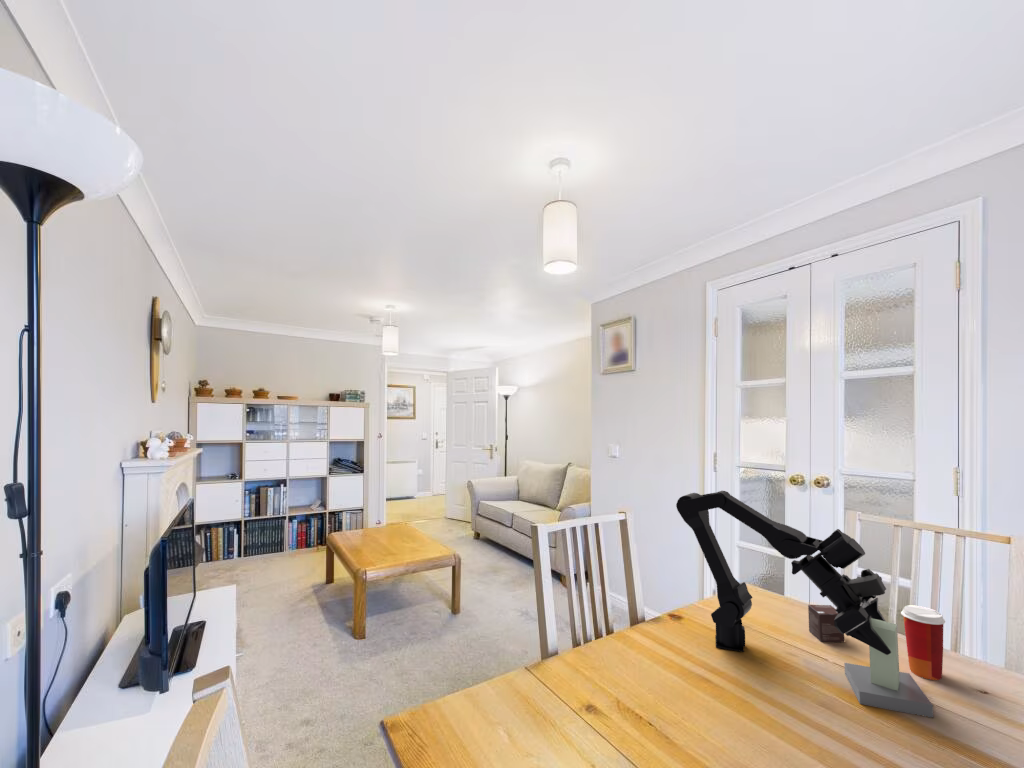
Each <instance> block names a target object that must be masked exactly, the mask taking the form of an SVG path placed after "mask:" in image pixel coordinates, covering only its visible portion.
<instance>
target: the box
mask: <svg viewBox="0 0 1024 768" xmlns="http://www.w3.org/2000/svg"><path fill="white" fill-rule="evenodd" d="M807 607H808V608H807V609H808V611H807V612H808V631H809V633H810V634H811V635H813V636H814V637H815V638H816V639H817V640H818V641H819V642H821V643H827V642H828V643H833V642H834V643H845V634H841V633H840V632H839V631H838V630H837V628H836V627H835V626H834V619H835V618H836V616H837V615H838V613H837V612H836V611H835V610H836V608H835V607H834V606H832V605H831V604H830V605H829V604H808V605H807Z"/></svg>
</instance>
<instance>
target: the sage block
mask: <svg viewBox="0 0 1024 768" xmlns="http://www.w3.org/2000/svg"><path fill="white" fill-rule="evenodd" d="M871 622H872V627H873V628H874V630H875V631H876V632H877V634H878V635H879V636H880V637H881V639H882V640H883V641H884V643H885V644H886V645H887V647H888V648H889V649H890V651H891V653H890V654H888V655H886V654H884V653H882V652H880V651H878V650H877V649H875V648H873V647H871V646H869V645H868V646H869V647H868V649H869V653H868V654H869V667H870V675H871V683H874V684H877V685H880V686H883V687H887V688H890V689H893V690H896V691H898V688H899V683H900V676H899V672H900V661H899V660H900V659H899V658H900V657H899V639H898V638H899V637H898V624H897V623H893V622H891V621H890V622H889V621H887V620H885V621H881V620H877V619H873V618H871Z"/></svg>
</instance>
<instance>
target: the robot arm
mask: <svg viewBox="0 0 1024 768" xmlns="http://www.w3.org/2000/svg"><path fill="white" fill-rule="evenodd" d="M675 507H676V510H677V512H678V514H679V515H680V516H681V518H682V519H683V521H684V522H685V523H686V525H688V527H690V528H691V530H692V531H693V532H694V535H695V538H696V540H697V542H698V545H699V547H700V549H701V551H702V554H703V556H704V558H705V561H706V563H707V565H708V568H709V570H710V573H711V574H712V577H713V578H714V581H715V583H716V594H717V600H718V605H719V606H718V607H717V608H716V609H715V610H714V611H712V613H710V616H711V619H712V622H713V624H715V635H714V636H715V639H714V640H715V648H717V649H718V648H719V649H724V650H730V651H734V652H740V653H741V652H743V653H744V652H745V649H744V648H745V647H746V628H745V626H744V625H743V622H742V618H744V617H745V616H746V614H748V613H749V612H750V610H751V609H752V606H753V603H752V599H753V598H754V597H753V596H752V595H751V593H750V591H749V589H748V586H747V583H746V582H745V581H743V582H741V583H740V582H739V581H738V580H737V579H736V577H734V575H733V573H732V571H731V568H730V566H729V563H728V562H727V559H726V557H725V555H724V553H723V550H722V548H721V546H720V545H719V542H718V539H717V537H716V536H715V533H714V530H713V529H712V526H711V523H710V511H709V510H713V509H720V510H722V511H723V512H725V513H726V514H727V515H730V516H731V517H733V518H735V519H736V520H737V521H739V522H741V523H742V524H743V525H746V526H747V527H749V528H750V529H752V530H753V531H755V532H757V533H758V534H760V535H761V536H762V537H763V538H765V540H766V541H767V542H768V544H769V545H770V546H772V548H774V549H775V550H776V551H777V552H778V553H779V554H780V555H782V557H785V558H787V559H790V560H792V561H791V564H790V565H791V568H792V569H791V573H792V575H793V576H794V575H797V573H799V572H800V571H802V573H803V574H804V575H805V576H806V577H807V578H808V579H809V580H810V581H811V583H813V584H814V585H815V586H816V588H818V589H819V591H820V592H819V595H820V596H821V597H822V598H825V597H826V598H827V599H828V600H829V601H830V602H831V603H832V604H833V605H834V606H835V607H836V608H835V609H836V610H835V611H836V612H837V613H838V615H837V616H836V618H835V619H834V626H835V627H836V628H837V630H838V631H839V632H840V633H841V634H844V635H845V636H847V637H849V636H850V637H851V638H853V639H856V640H858V641H860V642H862V643H863V644H866V645H868V646H871V647H873V648H875V649H877V650H878V651H880V652H882V653H884V654H886V655H888V654H890V653H891V651H890V649H889V648H888V647H887V645H886V644H885V643H884V641H883V640H882V639H881V637H880V636H879V635H878V634H877V632H876V631H875V630H874V628H873V627H872V622H871V618H873V619H877V620H881V621H886V619H885V618H884V616H883V614H882V613H881V610H879V598H878V597H877V596H883V595H884V594H886V590H887V588H886V586H885V584H884V583H883V578H882V577H881V576H880V575H879V574H878V573H877V572H876V573H875V572H874V571H872V570H871V569H869V568H867V569H862V570H861V572H860V576H857V577H856V578H852V579H851V578H850V577H849V576H848V575H847V574H841V573H840V572H839V571H837V570H836V569H837V568H840V569H842V570H844V569H846V568H848V567H849V566H850V565H852V564H854V563H855V562H856V561H858V560H860V559H861V558H862V557H863V556H865V555H866V552H865V550H864V549H863V547H862V546H861V544H860V543H858V542H857V540H855V538H852V537H851V536H849V535H848V534H846V533H845V532H843V531H842V530H841V529H840V528H836V530H834V531H833V532H832V533H831V534H830V535H829V536H828V537H826V538H825V539H824V540H822V539H818V538H815V537H810V536H807V535H806V534H805V533H804V532H803V531H802V530H799V529H797V528H794V527H792V526H790V525H787V524H784V523H780V522H777V521H775V520H772V519H771V518H770V517H767V516H766V515H764V514H762V513H761V512H759V511H758V510H756V509H754V508H753V507H751V506H749V505H747V504H746V503H745V502H743V501H741V500H740V499H739V498H736V497H735V496H733V495H732V494H731V493H729V492H728V491H726V490H719V491H717V492H711V493H705V494H704V493H703V494H700V493H698V492H697V493H696V492H692V493H691V492H690V493H687V494H685V495H682V496H681V497H679V498H678V499H677V501H676V505H675ZM818 551H819V552H818ZM816 552H818V553H817V554H815V553H816ZM814 554H815V555H814ZM813 555H814V556H813ZM802 556H804V557H803V558H801V559H800V560H797V559H799V558H800V557H802ZM795 559H796V560H795Z"/></svg>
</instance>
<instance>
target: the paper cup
mask: <svg viewBox="0 0 1024 768" xmlns="http://www.w3.org/2000/svg"><path fill="white" fill-rule="evenodd" d="M900 615H901V616H903V624H904V632H905V634H904V635H905V643H906V649H907V651H906V652H907V658H908V659H907V660H908V666H909V667H908V668H909V670H911V671H910V672H911V673H912V674H913V675H915V676H918V677H919V678H922V677H923V678H922V679H925V680H929V679H930V681H941V680H942V678H943V666H944V665H943V660H944V659H943V658H944V624H945V623H946V620H945V619H944V616H943V615H942V614H941V613H940V612H939V611H937V610H935V609H933V608H929V607H927V606H926V607H925V606H921V605H914V604H913V605H909V604H908V605H905V606H904V607H903V608H902V611H901V612H900Z"/></svg>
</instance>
